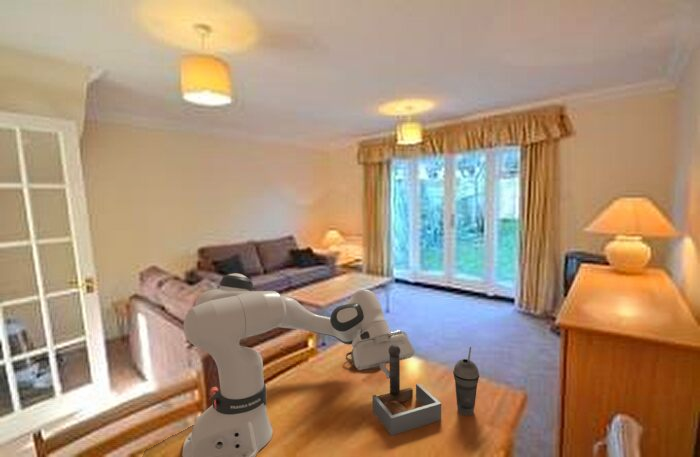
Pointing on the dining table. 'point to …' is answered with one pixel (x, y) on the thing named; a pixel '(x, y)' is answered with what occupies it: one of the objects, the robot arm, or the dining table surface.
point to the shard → (395, 407)
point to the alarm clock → (354, 362)
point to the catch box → (409, 413)
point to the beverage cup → (466, 385)
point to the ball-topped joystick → (395, 379)
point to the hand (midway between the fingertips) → (392, 377)
